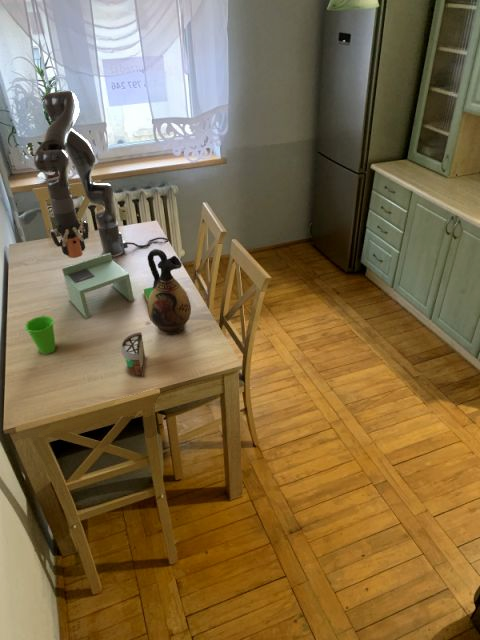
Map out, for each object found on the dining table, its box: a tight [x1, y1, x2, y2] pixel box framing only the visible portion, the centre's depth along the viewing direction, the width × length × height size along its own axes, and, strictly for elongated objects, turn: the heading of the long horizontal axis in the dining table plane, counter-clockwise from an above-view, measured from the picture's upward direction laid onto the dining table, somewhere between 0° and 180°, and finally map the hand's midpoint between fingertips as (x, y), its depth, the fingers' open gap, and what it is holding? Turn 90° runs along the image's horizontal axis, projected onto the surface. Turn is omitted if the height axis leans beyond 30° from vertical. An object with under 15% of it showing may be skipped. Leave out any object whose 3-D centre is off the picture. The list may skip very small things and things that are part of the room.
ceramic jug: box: [146, 248, 192, 336], centre depth 162 cm, size 17×15×30 cm
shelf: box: [61, 253, 135, 319], centre depth 182 cm, size 20×16×15 cm
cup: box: [24, 315, 56, 355], centre depth 158 cm, size 9×9×11 cm
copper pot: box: [66, 235, 84, 259], centre depth 171 cm, size 5×8×8 cm
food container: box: [120, 331, 146, 377], centre depth 149 cm, size 12×6×10 cm, turn 5°
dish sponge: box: [143, 286, 153, 302], centre depth 185 cm, size 7×14×2 cm, turn 22°
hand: (74, 252), depth 172 cm, fingers closed on copper pot, 5 cm apart
